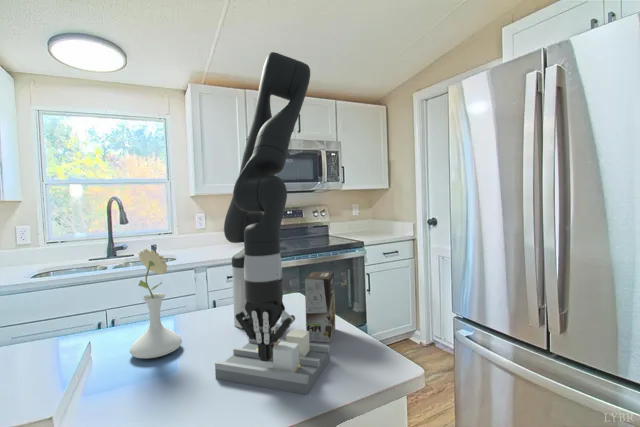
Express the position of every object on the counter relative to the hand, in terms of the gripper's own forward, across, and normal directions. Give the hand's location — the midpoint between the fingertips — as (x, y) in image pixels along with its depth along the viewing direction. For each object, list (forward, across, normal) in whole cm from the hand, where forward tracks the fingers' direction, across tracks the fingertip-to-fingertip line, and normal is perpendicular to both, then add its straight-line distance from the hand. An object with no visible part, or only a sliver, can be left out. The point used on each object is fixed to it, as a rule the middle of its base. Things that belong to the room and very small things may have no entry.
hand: (266, 359), depth 68 cm
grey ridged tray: (+4, 0, +3) cm, 5 cm away
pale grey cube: (+1, +4, 0) cm, 5 cm away
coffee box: (+4, +4, +23) cm, 23 cm away
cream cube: (+1, +4, +7) cm, 8 cm away
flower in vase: (+4, -32, +3) cm, 32 cm away
